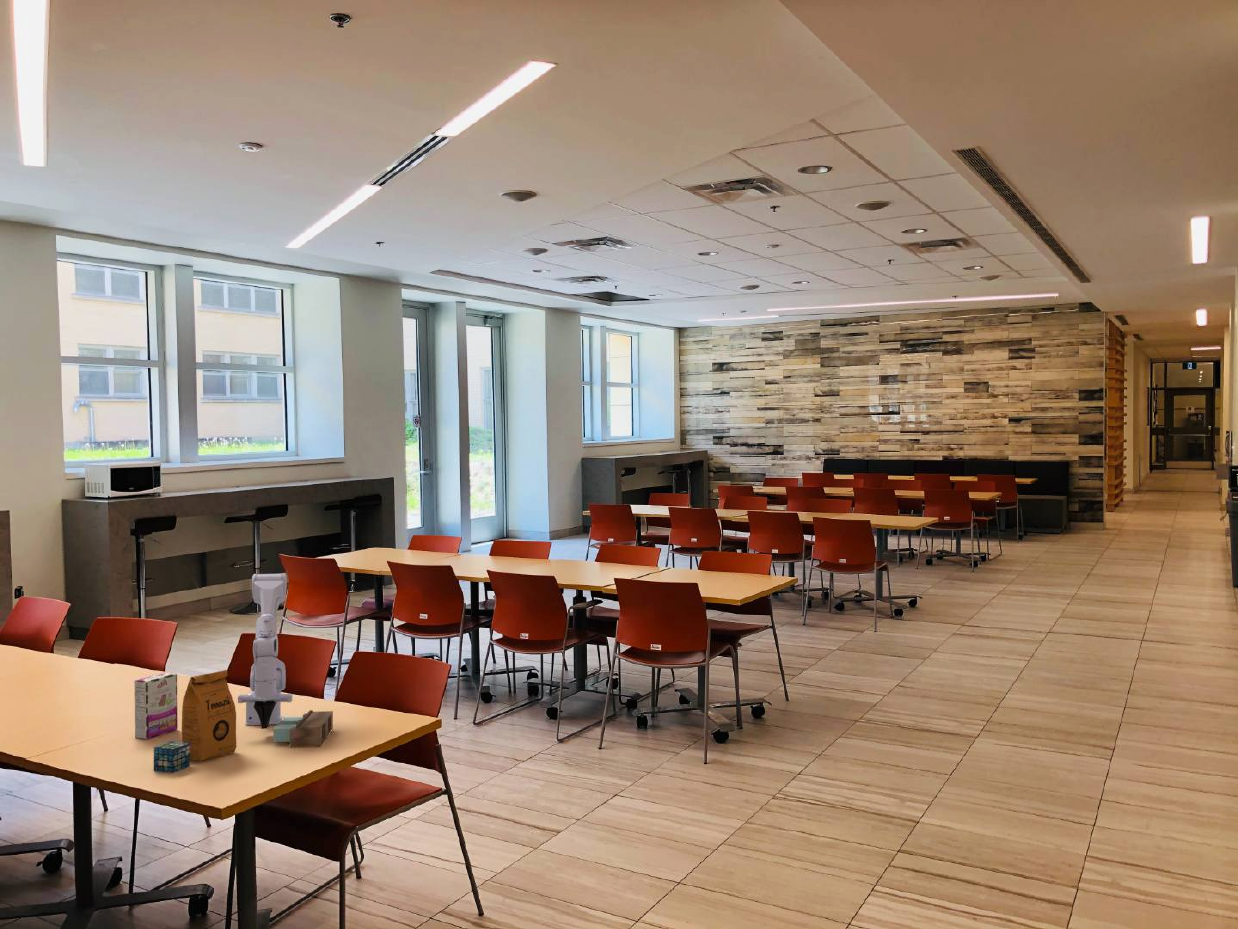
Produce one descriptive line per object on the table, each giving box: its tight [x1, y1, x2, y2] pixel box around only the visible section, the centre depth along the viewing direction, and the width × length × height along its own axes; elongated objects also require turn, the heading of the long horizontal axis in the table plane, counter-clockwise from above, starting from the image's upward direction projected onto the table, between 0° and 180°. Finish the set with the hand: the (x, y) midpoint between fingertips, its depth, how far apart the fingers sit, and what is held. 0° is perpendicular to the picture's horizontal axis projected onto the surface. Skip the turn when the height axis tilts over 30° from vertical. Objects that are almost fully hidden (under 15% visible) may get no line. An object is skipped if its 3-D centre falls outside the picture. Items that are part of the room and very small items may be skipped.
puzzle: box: [153, 740, 191, 774], centre depth 242 cm, size 6×6×6 cm
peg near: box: [272, 724, 296, 743], centre depth 265 cm, size 8×4×4 cm, turn 95°
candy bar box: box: [134, 671, 178, 740], centre depth 274 cm, size 11×5×16 cm, turn 160°
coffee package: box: [181, 669, 238, 761], centre depth 253 cm, size 10×12×22 cm
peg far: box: [280, 716, 303, 725], centre depth 273 cm, size 8×4×4 cm, turn 95°
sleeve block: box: [289, 709, 334, 748], centre depth 270 cm, size 8×17×6 cm, turn 5°
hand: (265, 727), depth 273 cm, fingers closed
